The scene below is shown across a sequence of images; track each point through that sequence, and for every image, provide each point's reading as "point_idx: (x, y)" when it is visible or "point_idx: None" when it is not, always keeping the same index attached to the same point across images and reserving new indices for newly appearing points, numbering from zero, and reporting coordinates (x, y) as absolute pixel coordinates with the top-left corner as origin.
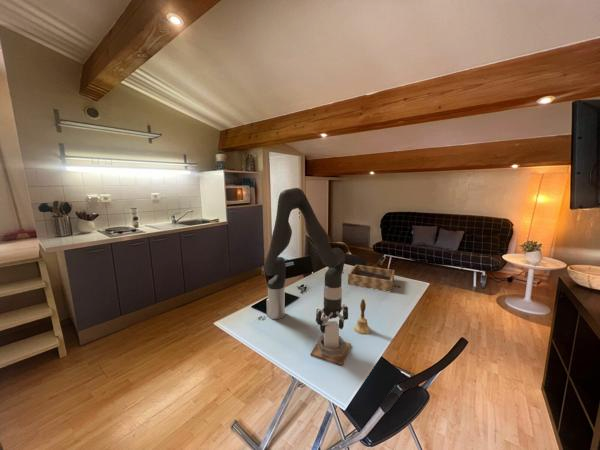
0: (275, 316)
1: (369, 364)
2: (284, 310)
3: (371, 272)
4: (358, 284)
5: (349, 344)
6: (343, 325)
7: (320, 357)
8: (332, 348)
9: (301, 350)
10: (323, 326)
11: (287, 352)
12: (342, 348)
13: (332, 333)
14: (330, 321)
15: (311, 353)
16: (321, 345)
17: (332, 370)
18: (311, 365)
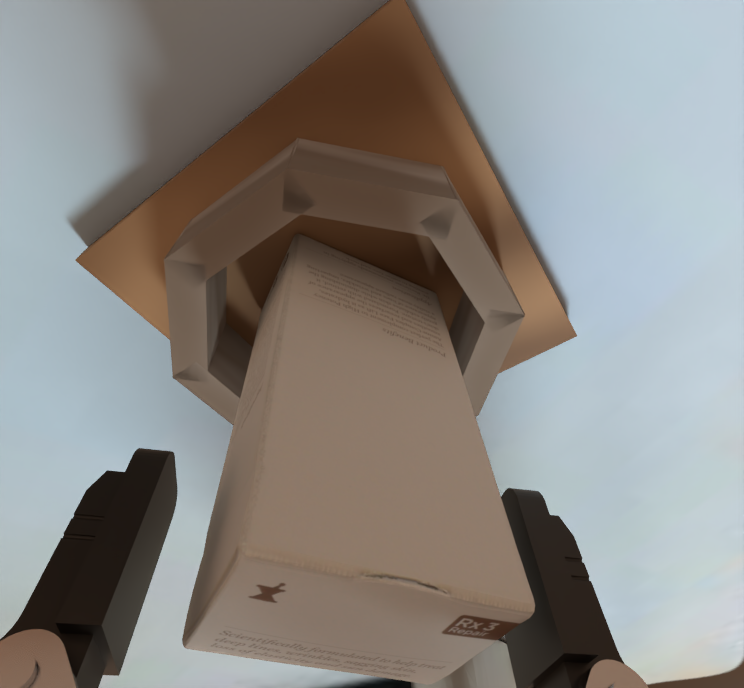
0: (497, 660)
1: None
2: (425, 685)
3: None
4: None
5: (102, 257)
6: (77, 514)
7: (532, 250)
8: (367, 277)
9: (580, 397)
10: (585, 631)
11: (683, 422)
12: (279, 187)
13: (384, 435)
14: (324, 665)
15: (571, 330)
16: (489, 354)
17: (562, 4)
18: (673, 210)
